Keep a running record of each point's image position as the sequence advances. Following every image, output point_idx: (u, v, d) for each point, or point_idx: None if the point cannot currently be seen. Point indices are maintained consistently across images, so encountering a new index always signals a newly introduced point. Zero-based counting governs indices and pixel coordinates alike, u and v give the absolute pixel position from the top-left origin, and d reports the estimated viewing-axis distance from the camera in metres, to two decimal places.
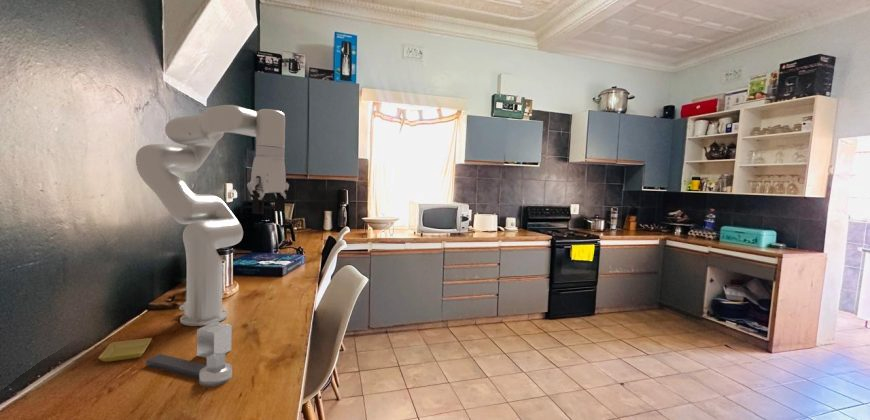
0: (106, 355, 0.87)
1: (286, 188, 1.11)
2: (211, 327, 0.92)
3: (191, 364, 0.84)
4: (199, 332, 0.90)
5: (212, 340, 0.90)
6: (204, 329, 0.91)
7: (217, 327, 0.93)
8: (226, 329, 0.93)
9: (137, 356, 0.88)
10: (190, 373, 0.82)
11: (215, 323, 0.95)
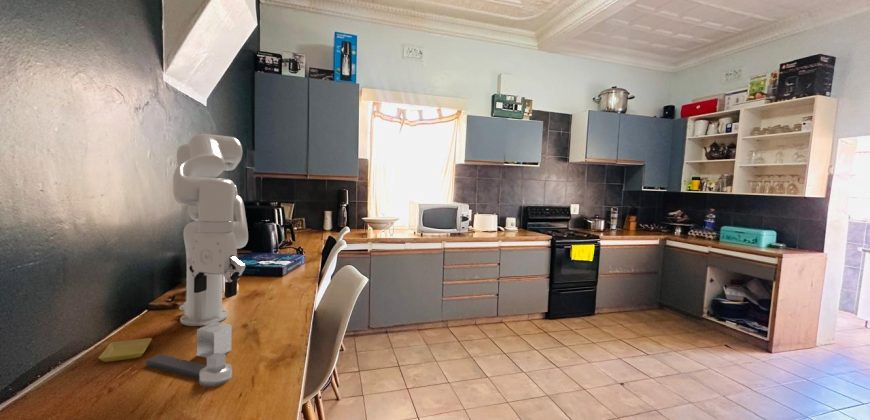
0: (106, 355, 0.87)
1: None
2: (211, 327, 0.92)
3: (191, 364, 0.84)
4: (199, 332, 0.90)
5: (212, 340, 0.90)
6: (204, 329, 0.91)
7: (217, 327, 0.93)
8: (226, 329, 0.93)
9: (137, 356, 0.88)
10: (190, 373, 0.82)
11: (215, 323, 0.95)
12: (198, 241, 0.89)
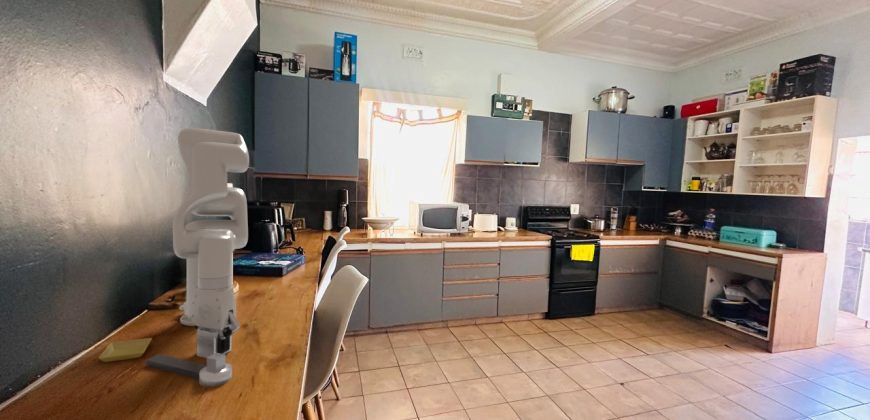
0: (106, 355, 0.87)
1: None
2: None
3: (191, 364, 0.84)
4: (199, 332, 0.90)
5: (212, 340, 0.90)
6: (204, 329, 0.91)
7: None
8: None
9: (137, 356, 0.88)
10: (190, 373, 0.82)
11: None
12: (197, 296, 0.90)
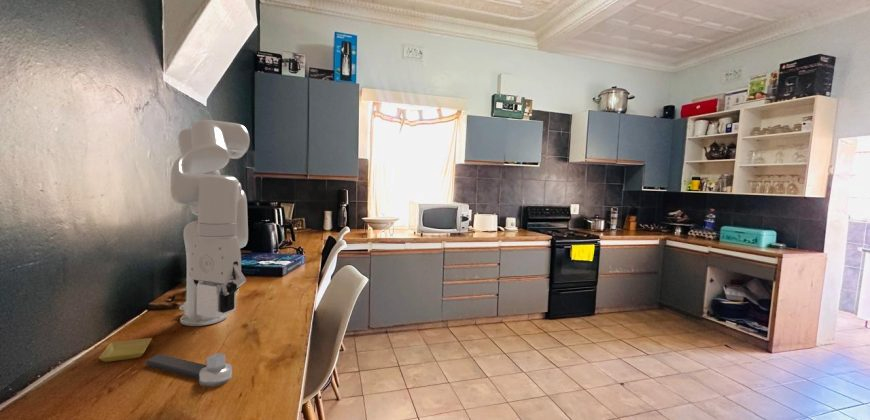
0: (106, 355, 0.87)
1: None
2: None
3: (191, 364, 0.84)
4: (200, 287, 0.79)
5: (214, 295, 0.78)
6: (205, 284, 0.80)
7: None
8: None
9: (137, 356, 0.88)
10: (190, 373, 0.82)
11: None
12: (197, 246, 0.79)
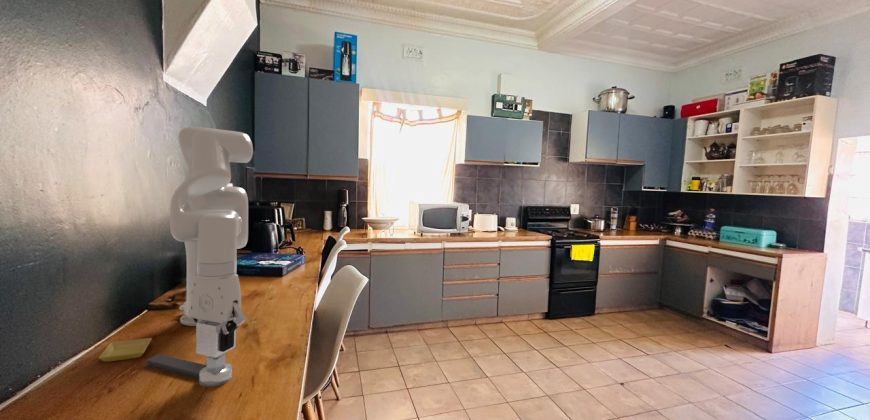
0: (106, 355, 0.87)
1: None
2: None
3: (191, 364, 0.84)
4: (199, 326, 0.79)
5: (214, 335, 0.78)
6: (204, 322, 0.79)
7: None
8: None
9: (137, 356, 0.88)
10: (190, 373, 0.82)
11: None
12: (197, 284, 0.78)
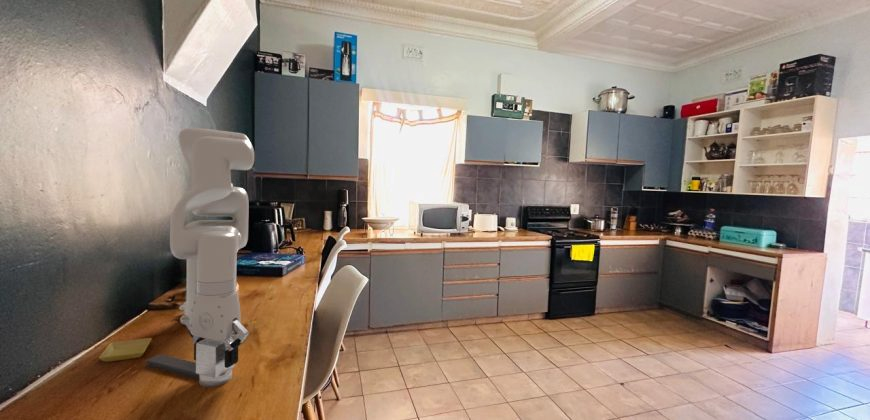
0: (106, 355, 0.87)
1: None
2: (212, 340, 0.81)
3: (191, 364, 0.84)
4: (199, 346, 0.79)
5: (213, 356, 0.78)
6: (204, 343, 0.79)
7: None
8: None
9: (137, 356, 0.88)
10: (190, 373, 0.82)
11: None
12: (197, 303, 0.79)
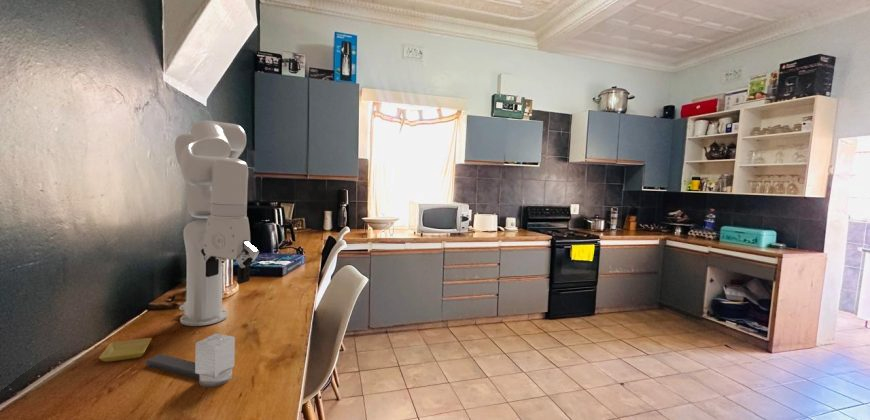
0: (106, 355, 0.87)
1: None
2: (211, 340, 0.81)
3: (191, 364, 0.84)
4: (198, 346, 0.79)
5: (213, 355, 0.78)
6: (203, 343, 0.79)
7: (218, 340, 0.81)
8: (229, 342, 0.82)
9: (138, 356, 0.88)
10: (190, 373, 0.82)
11: (215, 335, 0.84)
12: (210, 224, 0.85)
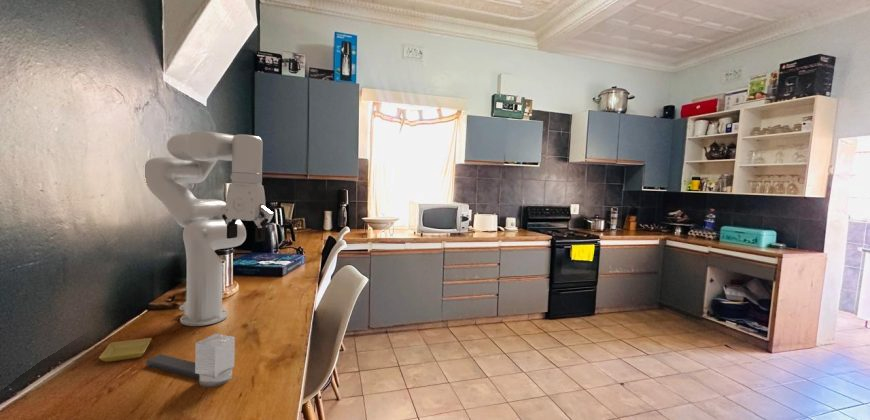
0: (106, 355, 0.87)
1: None
2: (211, 340, 0.81)
3: (191, 364, 0.84)
4: (198, 346, 0.79)
5: (213, 355, 0.78)
6: (203, 343, 0.79)
7: (218, 340, 0.81)
8: (229, 342, 0.82)
9: (138, 356, 0.88)
10: (190, 373, 0.82)
11: (216, 335, 0.84)
12: (231, 191, 0.99)
